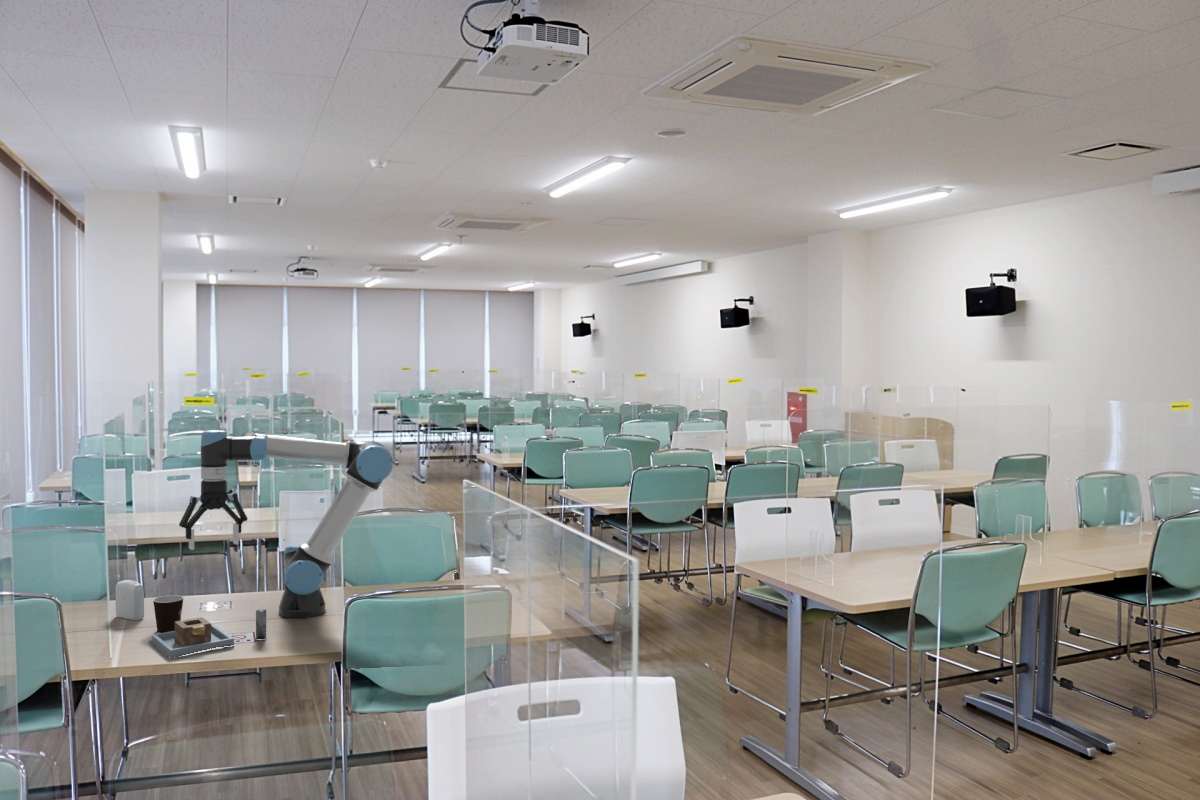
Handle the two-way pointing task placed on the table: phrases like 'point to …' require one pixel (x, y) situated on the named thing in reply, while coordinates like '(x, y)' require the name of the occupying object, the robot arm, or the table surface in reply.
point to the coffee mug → (167, 612)
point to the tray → (172, 649)
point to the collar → (192, 632)
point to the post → (261, 624)
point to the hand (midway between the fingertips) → (213, 546)
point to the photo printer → (129, 600)
